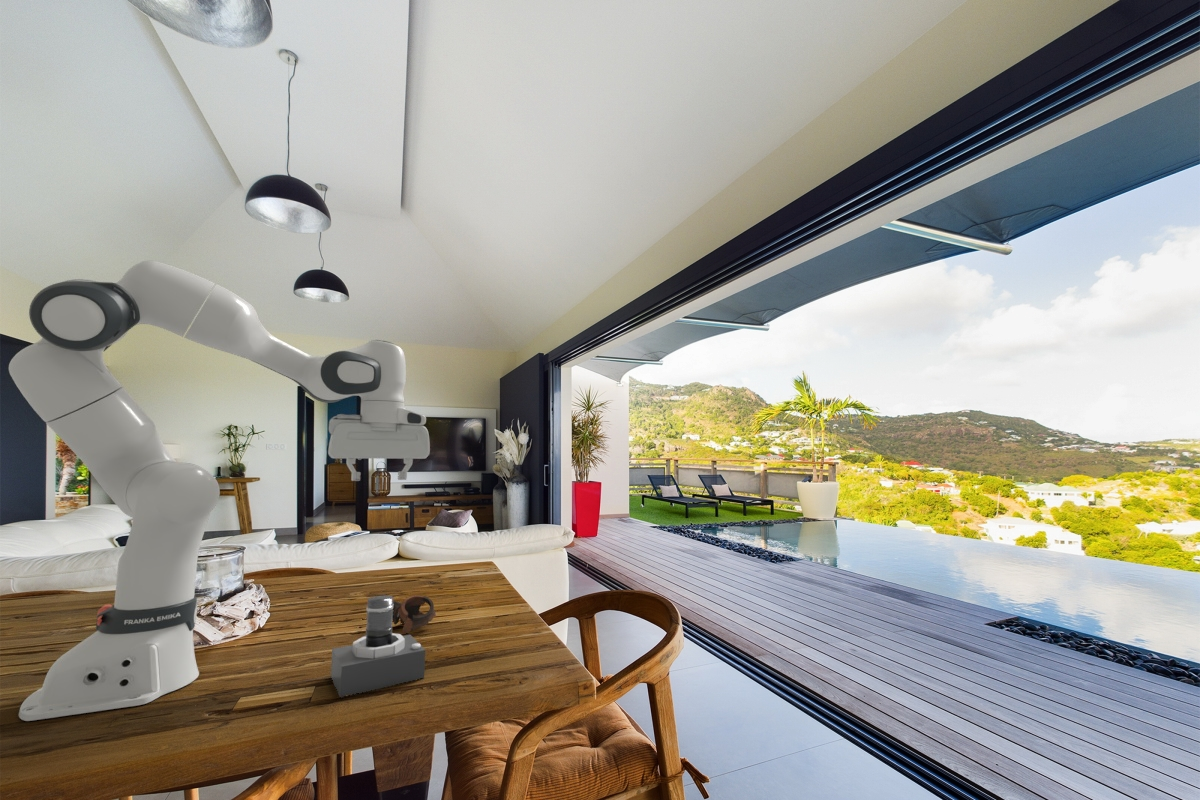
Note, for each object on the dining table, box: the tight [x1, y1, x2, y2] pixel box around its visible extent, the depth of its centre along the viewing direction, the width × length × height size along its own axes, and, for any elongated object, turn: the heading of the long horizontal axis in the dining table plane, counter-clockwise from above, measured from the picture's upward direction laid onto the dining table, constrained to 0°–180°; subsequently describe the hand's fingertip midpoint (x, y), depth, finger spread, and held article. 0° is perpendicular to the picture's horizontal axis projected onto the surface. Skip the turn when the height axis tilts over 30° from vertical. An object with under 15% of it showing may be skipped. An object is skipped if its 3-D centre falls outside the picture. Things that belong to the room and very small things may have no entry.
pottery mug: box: [392, 594, 437, 634], centre depth 125 cm, size 12×10×8 cm
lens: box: [365, 594, 394, 647], centre depth 98 cm, size 5×5×9 cm
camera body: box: [330, 632, 426, 698], centre depth 98 cm, size 14×10×6 cm
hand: (379, 480), depth 114 cm, fingers open, 8 cm apart
